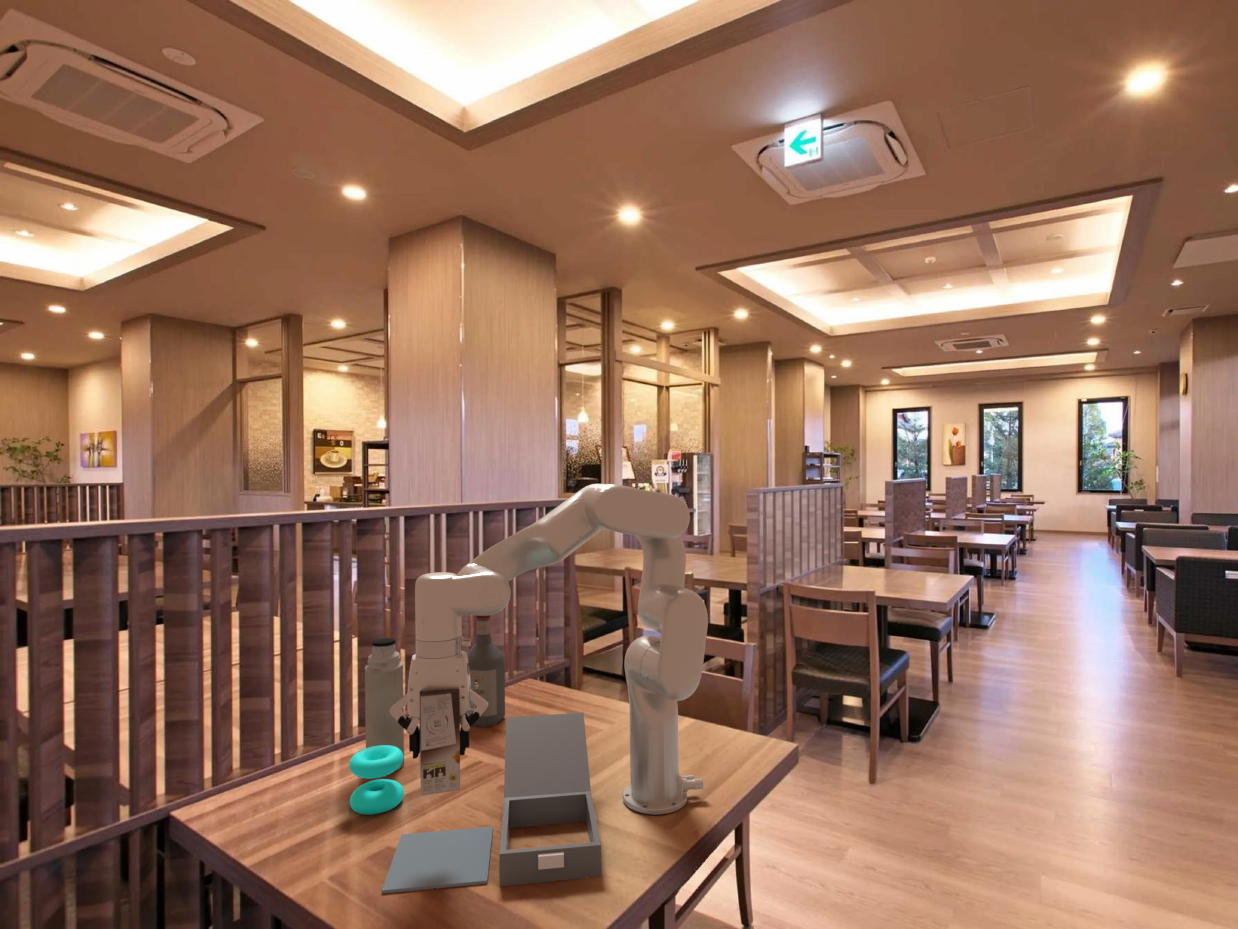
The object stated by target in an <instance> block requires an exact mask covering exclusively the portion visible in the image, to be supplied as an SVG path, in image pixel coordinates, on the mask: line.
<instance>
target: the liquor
mask: <svg viewBox="0 0 1238 929" xmlns="http://www.w3.org/2000/svg"><path fill="white" fill-rule="evenodd" d="M491 616H492V615H488V616H477V615H475V617H476V639H475V643H474V645H473V646H472V647H470V649H469V651H468V652H466V653H467V657H468V662H469V670H470V683H471V689H472V690H473V691H474V692H476V693H477V694H478V695H479V696H481V697H482V698H483V699H485V700H486V701H487V702H488V707H487V709H486V710H485V711H484V712H483V714H482V715H481V716H480V717H479V719H478V720H477V721H476V722H475V723H474V724H473V725H472V726H471V727H479V726H481V728H482V727H483V728H489V727H492V725H494V726H496V725H497V724H499V723H500V722H501V721H502V720H503V719H504V718H505V715H506V697H505V696H506V685H505V684H506V683H505V681H506V680H505V678H506V677H505V675H506V674H505V673H506V672H505V655H504V652H502V651H501V649H500V648H499V647H498V646H497V645H496V644H495V643H494V642H493V641H492V636H491ZM476 708H477V705H476V704H474V703H473V702H472V701H471V704H470V705H469V710H468V712H467V713H468V715H469V716H470V715H471V714H472V712H473V711H475V710H476ZM501 719H502V720H501ZM500 720H501V721H500ZM499 721H500V722H499ZM498 722H499V723H498ZM488 726H489V727H488Z"/></svg>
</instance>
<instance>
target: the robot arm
mask: <svg viewBox="0 0 1238 929" xmlns="http://www.w3.org/2000/svg"><path fill="white" fill-rule="evenodd" d="M689 509H690V508H689V507H688V505H687V504H686V502H684V500H683V499H682V498H680V497H679V496H678V495H677V496H676V495H675V494H671V493H664V492H659V491H654V490H653V491H651V490H647V489H641V488H635V487H632V486H631V487H630V486H627V485H622V484H621V485H620V484H615V483H592V484H589V485H586V486H584V487H583V488H581V489H579V490H578V491H577V492H575V493H574V494H573V495H571V496H570V497H569V498H567V499H566V500H564V501H563V502H562V503H560V504H559V505H557V506H556V507H555V508H553V509H552V510H551V511H549V512H548V513H546V514H545V515H544V516H543V517H541V518H539V519H538V520H537V521H535V522H533V523H532V524H531V525H529V526H526V527H524V528H522V529H520V530H519V531H517V532H515V533H514V534H512V535H510V536H507V537H506V538H504V539H503V540H501V541H499V542H497V543H496V544H494V545H492V546H491V547H489V548H487V549H486V550H485V551H483V552H482V553H480V554H478V555H477V557H475V558H473V559H472V560H471V561H469V562H468V563H467V564H466V565H464V566H463V567H462V568H461V569H460V570H459V571H458V573H454V572H443V571H442V572H441V571H439V572H438V571H437V572H429V573H424V574H422V575H420V576H418V578H416V580H415V585H414V586H415V588H414V601H415V602H414V604H415V605H414V606H415V610H414V612H415V613H414V614H415V617H414V619H415V621H414V622H415V628H414V629H415V654H413V655H411V656H412V657H411V660H410V665H409V671H408V683H407V692H406V694H405V695H403V697H402V698H401V699H400V700H399V701H398V702H397V703H396V704H394V705H393V706H392V707H391V709H390V710H389V713H390V714H391V715H392V716H393V717H394V718H395V719H396V720H397V721H398V723H399V724H400V725H401V726H402V727H403V728H404V731H406V733H407V734H408V736H409V737H408V738H409V739H408V741H409V742H408V744H409V745H408V746H409V748H408V751H409V752H412V759H417V758H418V757H419V756H420V727H419V724H420V691H432V690H448V689H459V701H460V756H465V753H466V749H468V748H470V743H471V742H470V728H472V727H473V726H472V725H473V724H474V723H475V722H476V721H477V720H478V719H479V717H480V716H481V715H482V714H483V712H484V711H485V710H486V709H487V707H488V702H487V701H486V700H485V699H483V698H482V697H481V696H479V695H478V694H477V693H476V692H474V691H473V690H472V689H471V683H470V670H469V662H468V657H467V653H468V652H466V651H464V649H466V648H471V640H472V639H471V638H466V637H465V638H464V636H463V633H462V631H463V630H462V629H463V628H462V627H463V626H462V623H463V622H462V620H463V618H462V616H476V615H477V616H488V615H491V616H492V615H495V614H498V613H501V612H502V611H503V610H504V609H505V608H506V607H507V605H508V604H509V602H510V601H511V600H510V599H511V595H512V594H511V593H512V592H511V587H510V583H509V582H510V581H512V580H513V579H514V578H516V577H518V576H520V575H522V574H525V573H526V572H528V571H529V572H530V571H532V570H535V569H539V568H544V567H549V566H552V565H555V564H557V563H560V562H563V561H564V560H565V559H567V557H569V556H570V555H572V554H573V553H574V552H575V551H577V549H579V548H580V547H581V546H583V545H584V544H585V543H587V542H588V541H589V540H591V539H592V538H593V537H595V536H596V535H597V534H599V533H600V532H601V531H609V532H615V533H619V534H626V535H631V536H635V537H636V538H637V540H638V542H639V543H640V546H641V550H642V554H643V555H642V558H643V559H642V574H641V579H640V588H639V596H638V601H637V602H638V603H637V616H638V618H639V620H640V622H641V623H642V624H643V625H644V627H647V628H648V629H650V630H653V631H655V632H658V633H660V637H658V636H655V635H643V636H640V637H637V638H636V639H635V640H633V641H632V642H631V643H630V644H629V646H628V647H627V649H626V653H625V656H624V672H625V679H626V685H627V692H628V703H629V705H628V706H629V761H630V762H629V763H630V764H629V765H630V767H629V769H630V773H629V774H630V783H629V784H628V785H626V787H625V788H623V792H622V800H623V803H624V804H625V806H626V807H628V809H629V808H630V809H631V811H635V812H638V813H641V814H645V815H654V816H655V815H665V814H672V813H674V812H676V811H679V810H680V809H682V808H683V807H685V805H686V804H687V802H688V801H687V800H688V791H689V790H694V791H698V790H704V781H703V778H695V776H694V774H686V775H682V774H681V773H680V766H679V764H680V763H679V761H680V760H679V758H680V757H679V754H680V753H679V710H678V709H679V708H678V702H679V701H684V700H686V699H689V697H691V696H692V695H693V694H694V693H695V692H696V690H697V688H698V687H699V685H700V681H701V678H702V674H703V670H704V669H703V668H704V667H703V666H704V659H705V654H706V652H705V651H706V645H707V644H706V642H707V635H708V634H707V633H708V626H709V616H708V609H707V606H706V604H705V601H704V600H703V598H702V597H701V596H700V595H699V593H697V592H696V591H693V590H691V589H689V588H686V587H685V582H686V566H687V564H686V563H687V555H686V553H687V552H686V547H685V543H684V541H683V539H682V535H683V534H684V533H685V532H686V531H687V530H688V527H689V525H690V521H691V515H690V510H689ZM471 701H472V702H473V703H474V704H476V705H477V708H476V710H475V711H473V712H472V714H471V715H470V716H469V715H468V713H467V712H468V710H469V705H470V704H471ZM405 706H406V711H407V712H406V713H407V714H405V713H403V712H402V711H401V709H402V708H403V707H405ZM411 718H412V719H411Z"/></svg>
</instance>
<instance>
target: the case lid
mask: <svg viewBox="0 0 1238 929" xmlns="http://www.w3.org/2000/svg"><path fill="white" fill-rule="evenodd" d="M586 736H587V735H586V725H585V714H584V712H573V713H571V712H570V713H569V712H568V713H557V714H554V713H553V714H541V715H540V714H539V715H537V714H536V715H526V716H507V717H506V718H505V745H504V746H505V748H504V777H503V778H504V783H503V784H504V785H503V799H504V798H510V797H523V796H535V795H548V794H561V793H573V792H586V791H591V792H592V789H591V779H590V778H591V777H590V776H591V775H590V768H589V765H590V764H589V757H588V756H589V755H588V745H587V737H586Z"/></svg>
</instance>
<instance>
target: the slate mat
mask: <svg viewBox="0 0 1238 929" xmlns="http://www.w3.org/2000/svg"><path fill="white" fill-rule="evenodd" d="M493 831H494V826H485V827H484V826H483V827H470V828H462V829H461V828H460V829H450V830H449V829H448V830H436V831H426V832H415V833H414V832H413V833H402V834H401V835H400V838H399V841H398V843H397V846H396V849H395V852H394V854H393V857H392V859H391V863H390V866H389V869H388V871H387V874H386V877H385V880H384V882H383V886H382V889H381V894H394V893H403V892H413V891H414V892H415V891H424V890H435V889H445V888H454V887H465V886H467V887H468V886H476V885H477V886H478V885H486V884H488V881H489V870H490V863H491V862H490V859H491V851H492V842H493ZM434 888H435V889H434Z"/></svg>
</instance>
